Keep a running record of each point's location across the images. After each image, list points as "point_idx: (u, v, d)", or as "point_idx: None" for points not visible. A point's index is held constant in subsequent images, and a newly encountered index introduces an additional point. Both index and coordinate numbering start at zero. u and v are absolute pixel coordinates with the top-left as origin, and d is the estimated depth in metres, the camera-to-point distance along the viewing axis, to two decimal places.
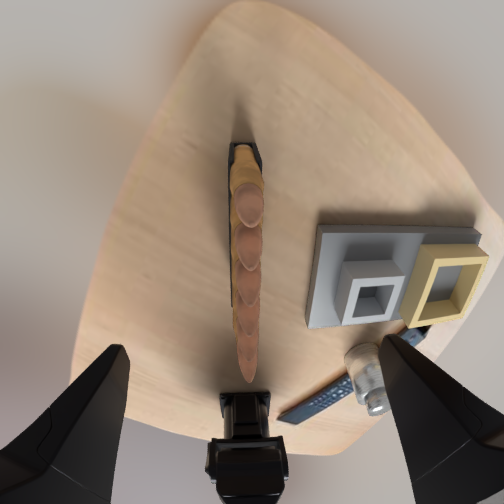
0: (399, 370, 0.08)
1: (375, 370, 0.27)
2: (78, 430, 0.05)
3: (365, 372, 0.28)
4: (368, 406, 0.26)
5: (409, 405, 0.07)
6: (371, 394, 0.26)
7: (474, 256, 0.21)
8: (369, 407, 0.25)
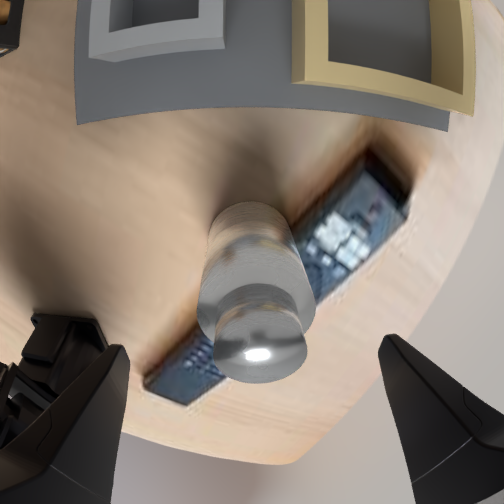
0: (399, 370, 0.08)
1: (247, 240, 0.11)
2: (78, 430, 0.05)
3: (221, 246, 0.12)
4: (214, 340, 0.09)
5: (409, 405, 0.07)
6: (225, 303, 0.10)
7: None
8: (214, 344, 0.09)
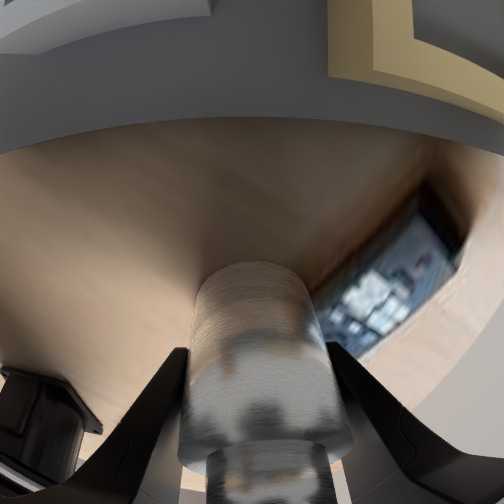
0: None
1: (253, 357, 0.06)
2: (156, 444, 0.06)
3: (210, 361, 0.07)
4: None
5: None
6: (218, 466, 0.05)
7: None
8: None
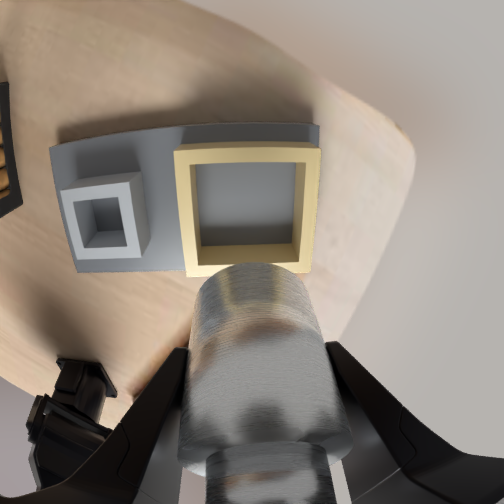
0: None
1: (252, 359, 0.06)
2: (156, 444, 0.06)
3: (209, 363, 0.07)
4: None
5: None
6: (218, 468, 0.05)
7: (275, 147, 0.15)
8: None
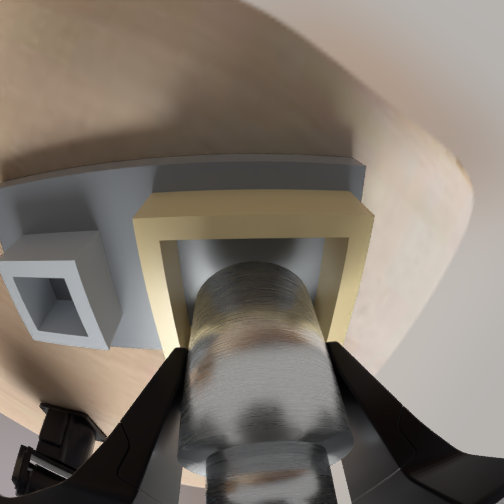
0: None
1: (253, 358, 0.06)
2: (156, 444, 0.06)
3: (210, 362, 0.07)
4: None
5: None
6: (218, 468, 0.05)
7: (303, 214, 0.09)
8: None
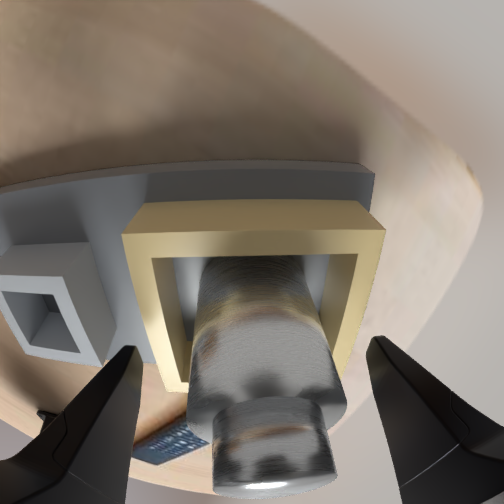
0: (386, 373, 0.08)
1: (254, 323, 0.07)
2: (94, 434, 0.05)
3: (216, 329, 0.08)
4: (212, 467, 0.06)
5: (396, 409, 0.07)
6: (224, 423, 0.06)
7: (308, 229, 0.08)
8: (213, 476, 0.05)
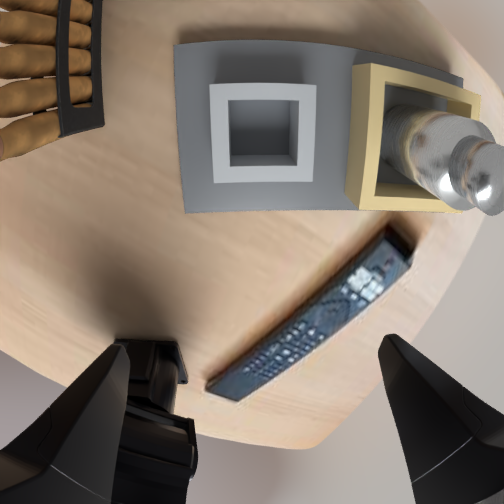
0: (399, 370, 0.08)
1: (448, 113, 0.10)
2: (78, 430, 0.05)
3: (430, 116, 0.11)
4: (470, 168, 0.09)
5: (409, 405, 0.07)
6: (464, 145, 0.09)
7: (452, 84, 0.11)
8: (475, 168, 0.08)
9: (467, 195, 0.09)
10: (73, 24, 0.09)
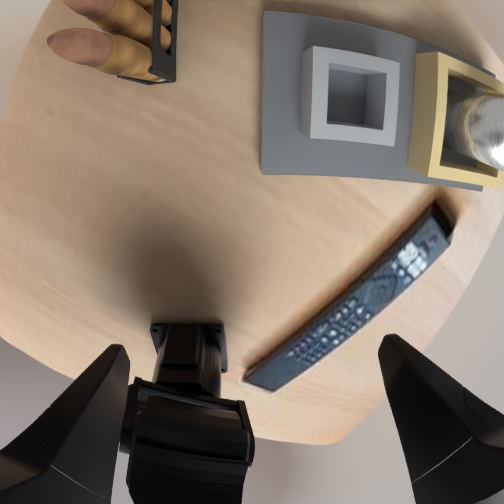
0: (399, 370, 0.08)
1: (496, 97, 0.10)
2: (78, 430, 0.05)
3: (483, 98, 0.11)
4: None
5: (409, 405, 0.07)
6: None
7: (493, 77, 0.11)
8: None
9: None
10: None
